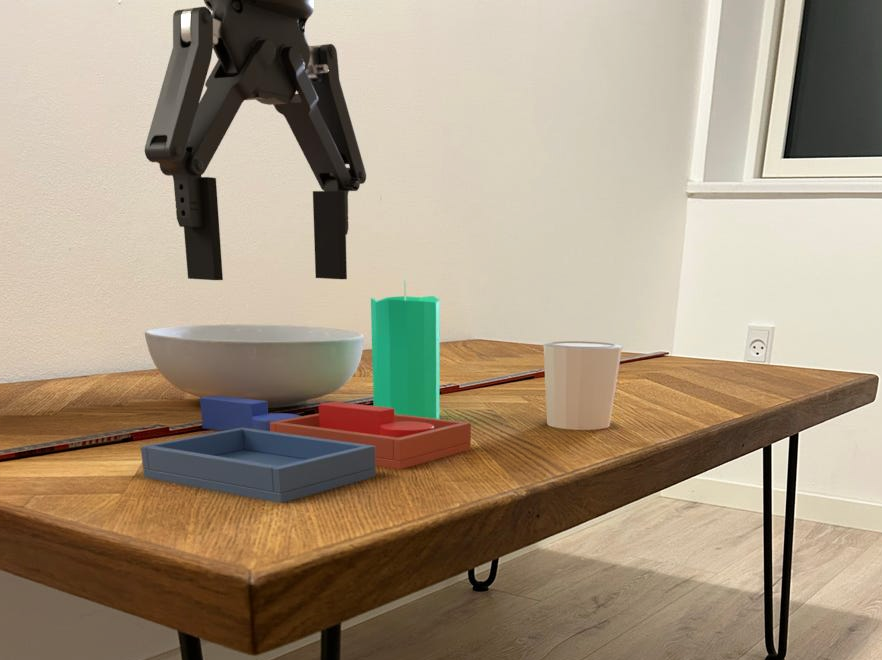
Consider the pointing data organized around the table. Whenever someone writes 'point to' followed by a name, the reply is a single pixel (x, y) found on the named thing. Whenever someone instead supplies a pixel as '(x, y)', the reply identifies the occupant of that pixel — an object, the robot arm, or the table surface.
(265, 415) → the blue rounded step block
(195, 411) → the table surface
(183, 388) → the serving bowl
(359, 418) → the red rounded step block
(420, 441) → the red tray
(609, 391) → the white cup
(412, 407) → the candle
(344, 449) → the blue tray
